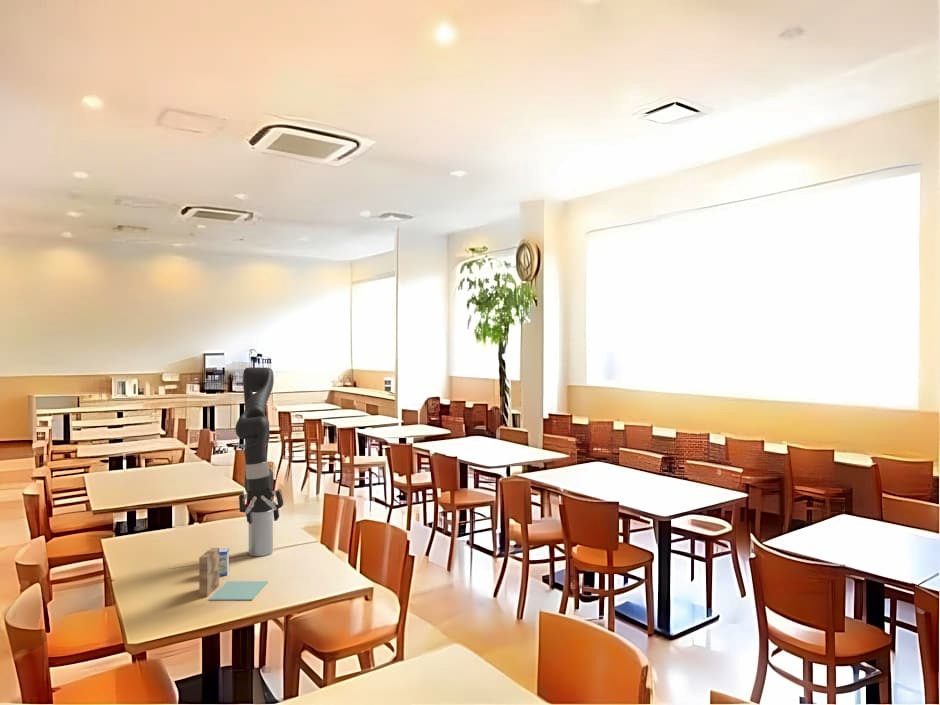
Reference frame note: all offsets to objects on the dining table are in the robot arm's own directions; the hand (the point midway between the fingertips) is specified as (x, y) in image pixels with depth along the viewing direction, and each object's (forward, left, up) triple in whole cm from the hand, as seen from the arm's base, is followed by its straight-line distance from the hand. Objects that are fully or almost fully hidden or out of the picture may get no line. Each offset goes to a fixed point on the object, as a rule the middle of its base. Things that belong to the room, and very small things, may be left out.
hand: (263, 521), depth 216 cm
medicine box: (-11, -20, -22) cm, 32 cm away
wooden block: (+5, -16, -22) cm, 28 cm away
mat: (+5, -6, -22) cm, 23 cm away
